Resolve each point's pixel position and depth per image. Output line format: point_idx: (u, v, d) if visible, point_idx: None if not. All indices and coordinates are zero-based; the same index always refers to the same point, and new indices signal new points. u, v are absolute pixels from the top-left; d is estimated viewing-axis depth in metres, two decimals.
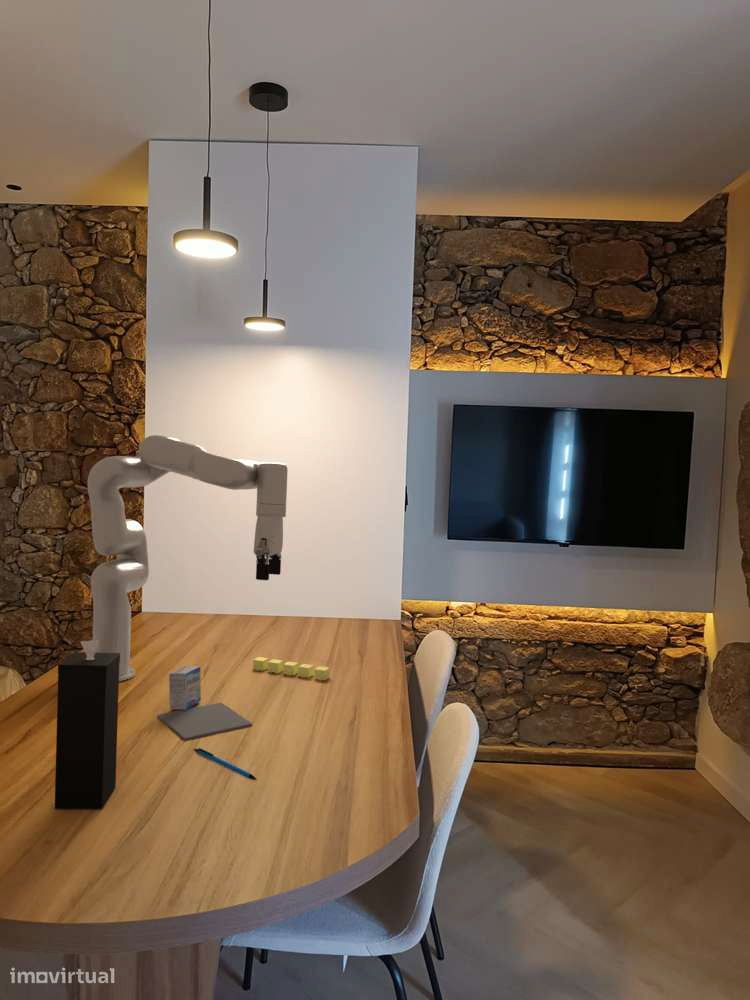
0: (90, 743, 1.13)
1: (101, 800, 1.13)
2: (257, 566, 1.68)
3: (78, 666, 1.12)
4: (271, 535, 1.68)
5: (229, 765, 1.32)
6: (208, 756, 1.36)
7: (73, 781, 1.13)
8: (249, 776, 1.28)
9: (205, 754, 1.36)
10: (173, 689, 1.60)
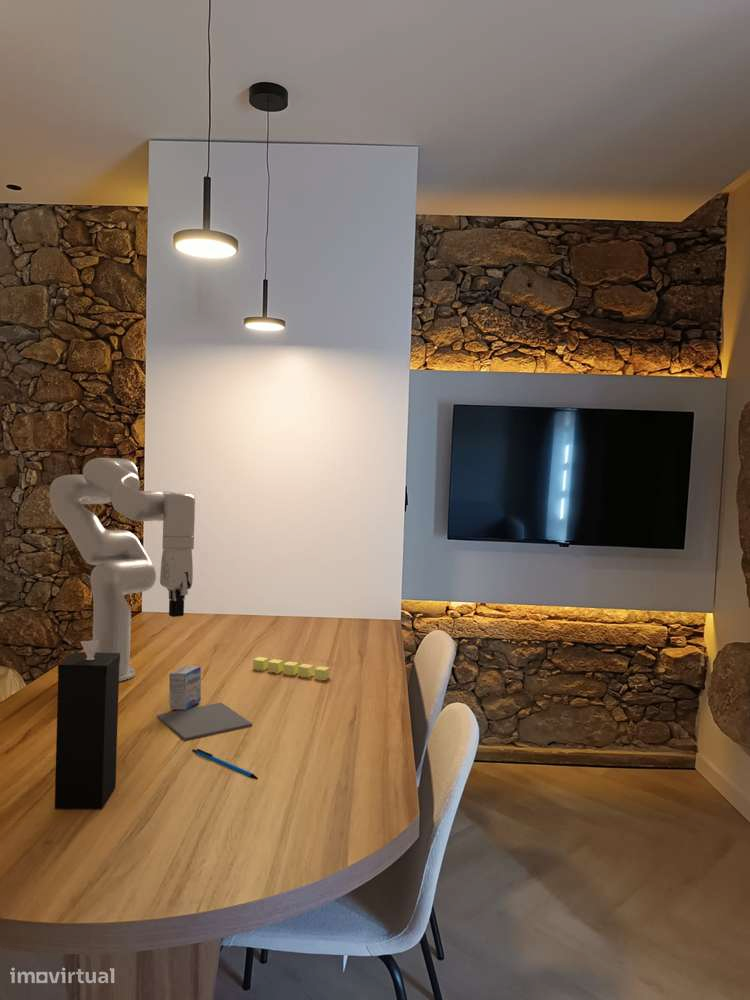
0: (90, 743, 1.13)
1: (101, 800, 1.13)
2: (172, 603, 1.67)
3: (78, 666, 1.12)
4: (192, 568, 1.66)
5: (229, 765, 1.32)
6: (207, 756, 1.35)
7: (73, 781, 1.13)
8: (250, 775, 1.28)
9: (204, 754, 1.36)
10: (173, 689, 1.60)
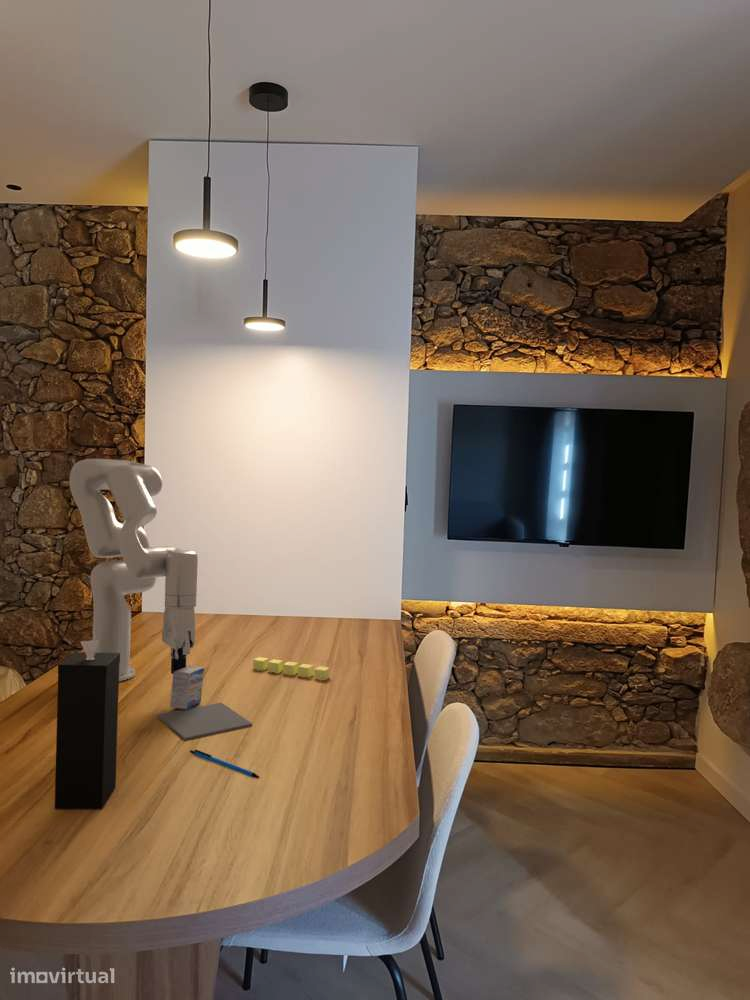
0: (90, 743, 1.13)
1: (101, 800, 1.13)
2: (174, 662, 1.66)
3: (78, 666, 1.12)
4: (194, 627, 1.64)
5: (229, 765, 1.32)
6: (206, 757, 1.35)
7: (73, 781, 1.13)
8: (252, 775, 1.28)
9: (203, 755, 1.36)
10: (176, 687, 1.60)
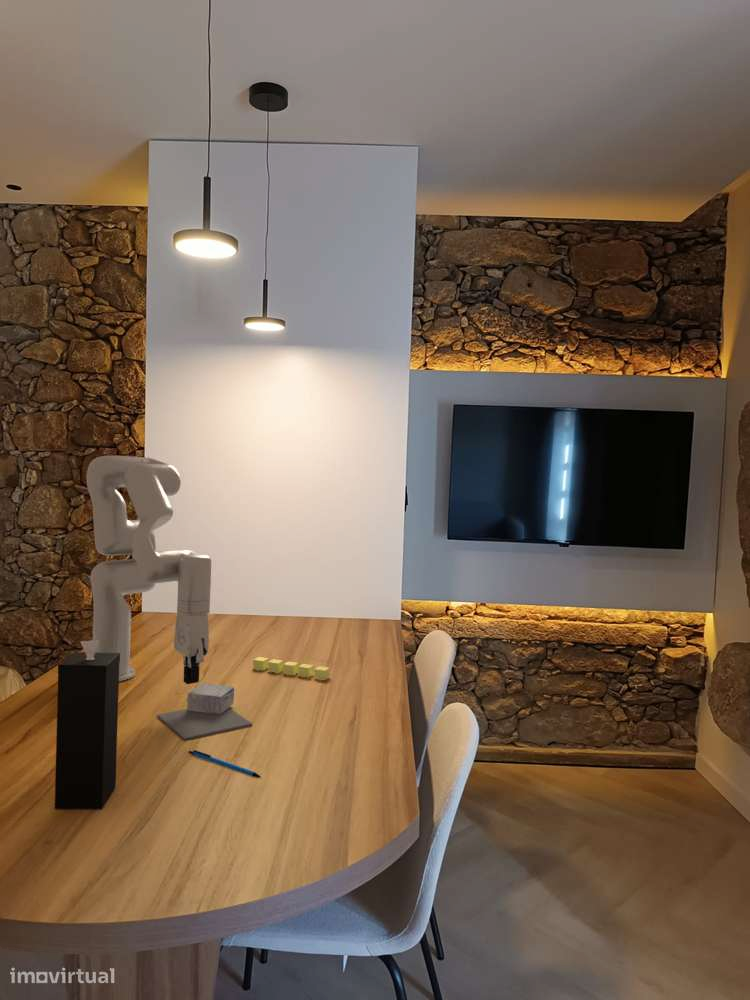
0: (90, 743, 1.13)
1: (101, 800, 1.13)
2: (187, 670, 1.59)
3: (78, 666, 1.12)
4: (208, 634, 1.58)
5: (229, 764, 1.32)
6: (205, 757, 1.35)
7: (73, 781, 1.13)
8: (253, 774, 1.29)
9: (202, 756, 1.36)
10: (206, 699, 1.58)
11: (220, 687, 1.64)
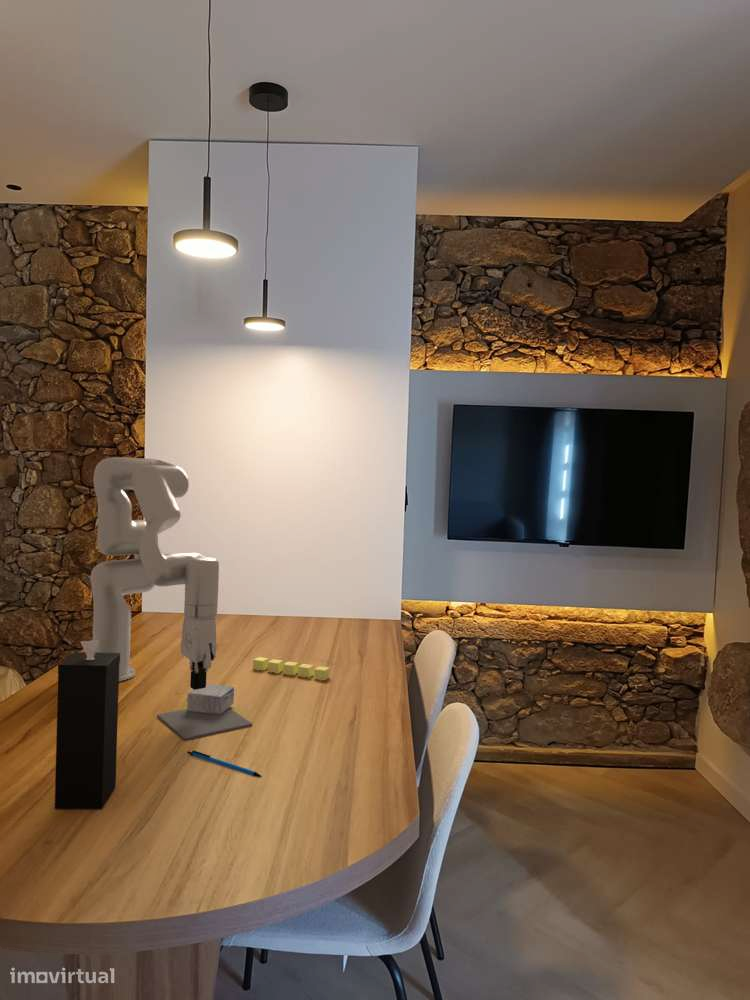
0: (90, 743, 1.13)
1: (101, 800, 1.13)
2: (194, 675, 1.56)
3: (78, 666, 1.12)
4: (215, 638, 1.55)
5: (230, 764, 1.32)
6: (205, 758, 1.35)
7: (73, 781, 1.13)
8: (254, 774, 1.29)
9: (201, 756, 1.35)
10: (206, 700, 1.58)
11: (220, 687, 1.64)
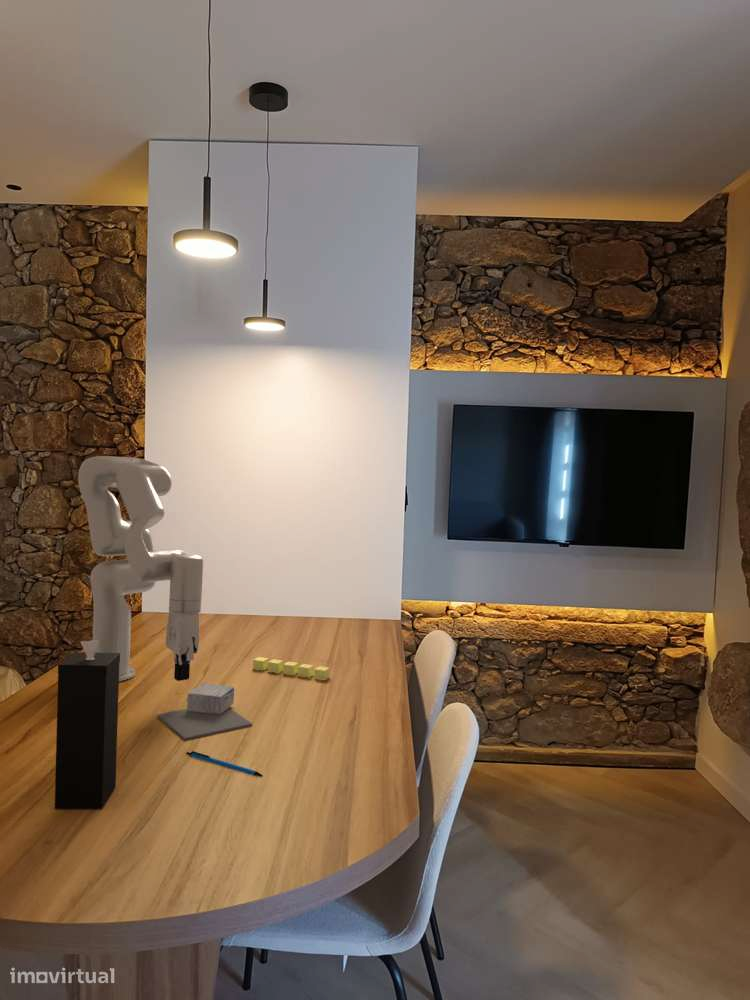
0: (90, 743, 1.13)
1: (101, 800, 1.13)
2: (178, 667, 1.63)
3: (78, 666, 1.12)
4: (198, 632, 1.62)
5: (230, 764, 1.32)
6: (204, 758, 1.35)
7: (73, 781, 1.13)
8: (255, 773, 1.29)
9: (200, 756, 1.35)
10: (206, 700, 1.58)
11: (220, 687, 1.64)
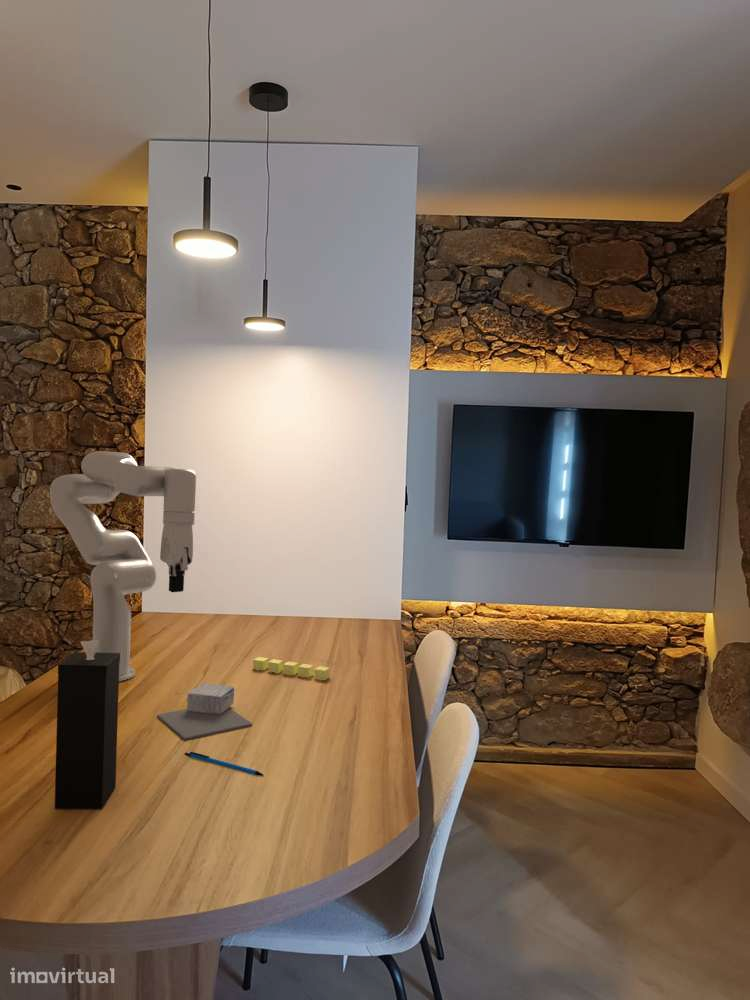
0: (90, 743, 1.13)
1: (101, 800, 1.13)
2: (172, 579, 1.67)
3: (78, 666, 1.12)
4: (192, 543, 1.66)
5: (230, 764, 1.32)
6: (203, 758, 1.34)
7: (73, 781, 1.13)
8: (256, 773, 1.29)
9: (199, 757, 1.35)
10: (206, 700, 1.58)
11: (220, 687, 1.64)
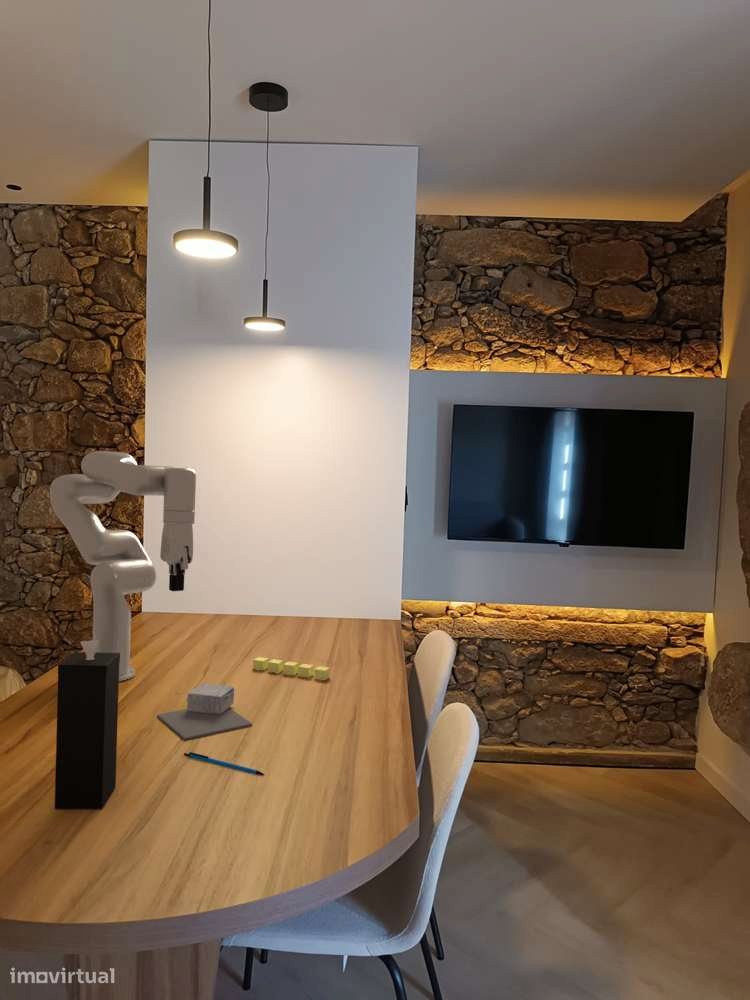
0: (90, 743, 1.13)
1: (101, 800, 1.13)
2: (172, 578, 1.67)
3: (78, 666, 1.12)
4: (192, 542, 1.66)
5: (230, 764, 1.32)
6: (203, 759, 1.34)
7: (73, 781, 1.13)
8: (256, 772, 1.29)
9: (199, 757, 1.35)
10: (206, 700, 1.58)
11: (220, 687, 1.64)
